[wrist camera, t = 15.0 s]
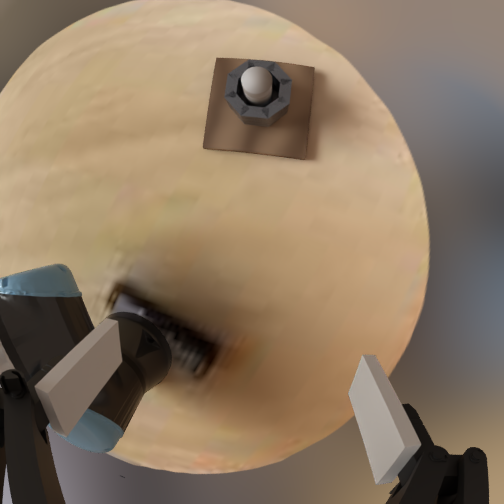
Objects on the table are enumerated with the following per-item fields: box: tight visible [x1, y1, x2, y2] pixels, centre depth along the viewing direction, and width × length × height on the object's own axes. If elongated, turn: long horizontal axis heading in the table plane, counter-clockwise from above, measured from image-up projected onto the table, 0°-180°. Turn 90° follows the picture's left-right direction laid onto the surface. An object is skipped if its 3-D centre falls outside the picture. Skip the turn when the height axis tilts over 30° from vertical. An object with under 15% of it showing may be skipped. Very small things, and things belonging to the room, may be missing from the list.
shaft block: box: [203, 58, 315, 160], centre depth 32 cm, size 14×14×12 cm
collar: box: [224, 60, 292, 127], centre depth 31 cm, size 7×7×5 cm
